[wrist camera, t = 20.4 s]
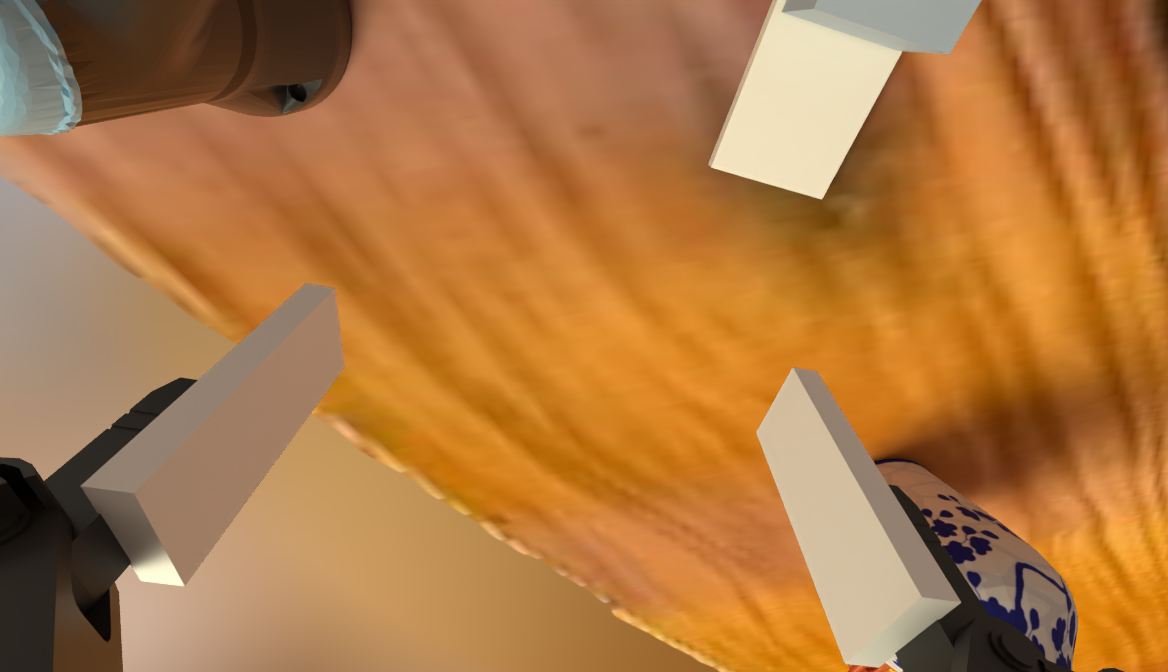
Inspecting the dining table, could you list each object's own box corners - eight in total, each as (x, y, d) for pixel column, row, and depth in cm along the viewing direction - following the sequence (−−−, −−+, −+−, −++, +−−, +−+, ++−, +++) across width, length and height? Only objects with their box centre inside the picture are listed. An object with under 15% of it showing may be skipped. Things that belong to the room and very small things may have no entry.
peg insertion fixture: (708, 163, 40) (732, 195, 32) (854, -208, 28) (946, -297, 20) (816, 195, 41) (864, 232, 33) (1001, -150, 29) (1140, -214, 21)
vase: (817, 438, 56) (988, 767, 31) (986, 430, 55) (1313, 771, 29) (795, 534, 66) (911, 841, 41) (938, 530, 65) (1149, 847, 40)
